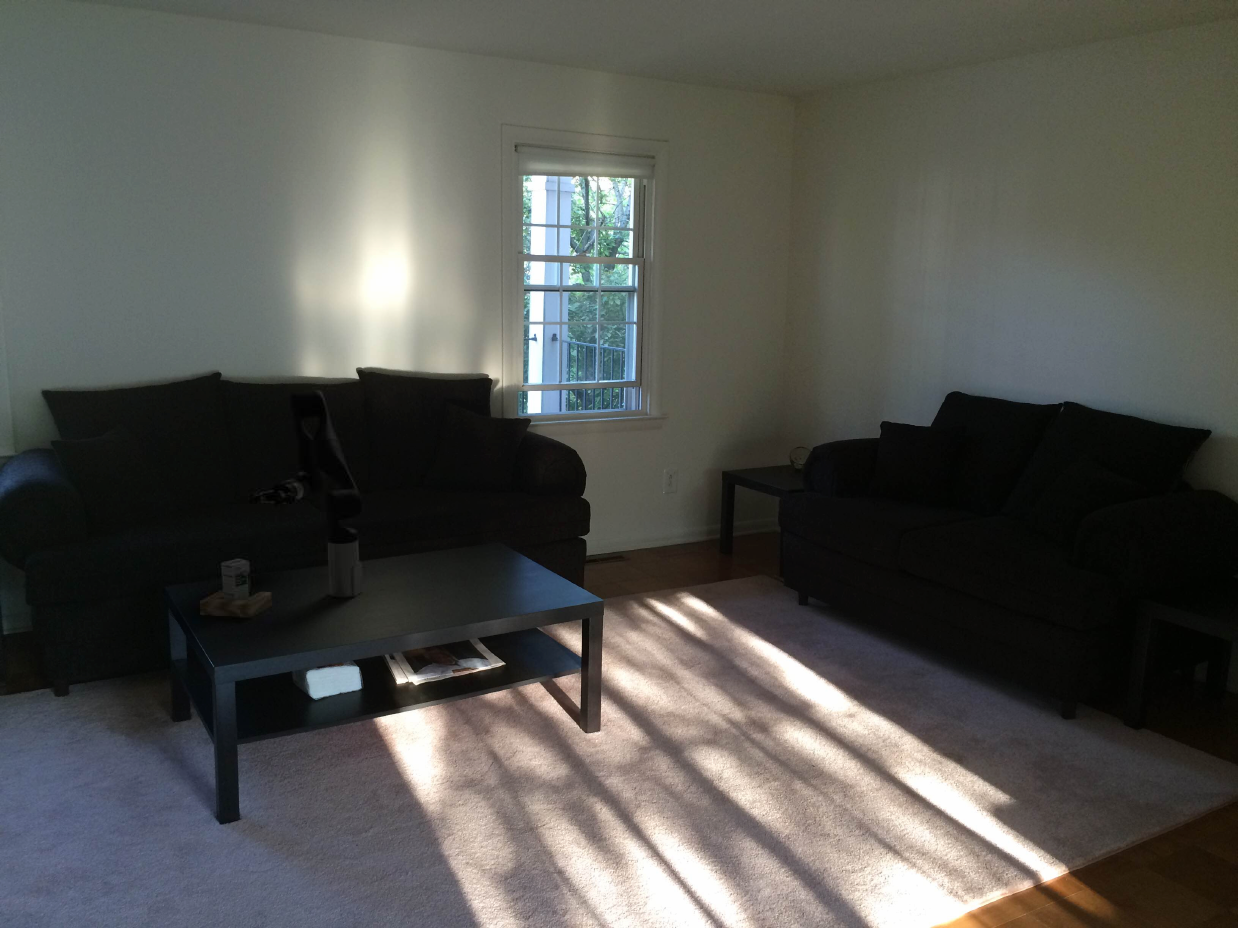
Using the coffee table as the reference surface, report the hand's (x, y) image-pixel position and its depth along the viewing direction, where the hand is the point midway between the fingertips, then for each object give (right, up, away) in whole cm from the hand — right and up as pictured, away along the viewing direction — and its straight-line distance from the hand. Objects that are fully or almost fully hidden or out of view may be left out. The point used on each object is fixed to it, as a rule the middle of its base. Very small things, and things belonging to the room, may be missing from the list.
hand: (263, 502), depth 311 cm
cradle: (-1, -31, -18) cm, 36 cm away
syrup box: (-2, -31, -16) cm, 35 cm away
